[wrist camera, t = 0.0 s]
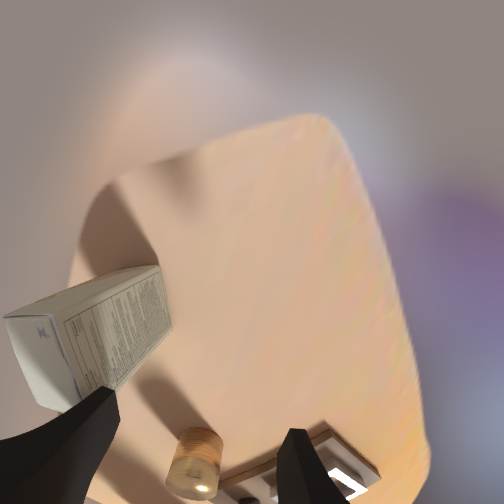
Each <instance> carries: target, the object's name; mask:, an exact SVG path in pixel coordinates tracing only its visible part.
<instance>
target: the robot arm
mask: <svg viewBox="0 0 504 504" xmlns="http://www.w3.org/2000/svg"><path fill="white" fill-rule="evenodd" d="M119 423H120V415H119V410H118V405H117V399H116V393H115V390H113V389H110V388H107V387H105V386H101V387H99V388H98V389H97V390H95V391H94V392H93V393H91V394H90V395H89V396H87V397H86V398H85V399H83V400H82V401H80V402H79V403H78V404H76V405H75V406H73V407H72V408H70V409H69V410H67V411H66V412H64V413H63V414H61V415H60V416H58V417H56V418H55V419H53V420H51V421H50V422H48V423H46V424H44V425H42V426H40V427H38V428H36V429H33V430H31V431H29V432H26V433H23V434H21V435H18V436H15V437H12V438H8V439H4V440H0V504H83V503H84V500H85V497H86V494H87V491H88V488H89V485H90V483H91V480H92V478H93V476H94V474H95V472H96V470H97V468H98V466H99V464H100V463H101V461H102V459H103V457H104V455H105V453H106V452H107V450H108V448H109V446H110V444H111V442H112V440H113V439H114V436H115V433H116V431H117V428H118V425H119ZM276 481H277V494H278V504H350V503H349V501H348V500H347V499H346V498H345V497H344V495H343V494H342V493H341V491H340V490H339V489H338V487H337V486H336V484H335V483H334V481H333V480H332V478H331V477H330V475H329V474H328V472H327V470H326V469H325V467H324V465H323V463H322V462H321V460H320V458H319V456H318V454H317V452H316V450H315V448H314V446H313V444H312V442H311V440H310V438H309V436H308V433H307V431H306V430H305V429H294V428H290V429H289V432H288V434H287V436H286V438H285V440H284V442H283V444H282V446H281V448H280V450H279V451H278V453H277V466H276Z"/></svg>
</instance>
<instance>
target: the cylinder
mask: <svg viewBox="0 0 504 504" xmlns="http://www.w3.org/2000/svg"><path fill="white" fill-rule="evenodd" d="M222 450H223V441H222V439H221V438H220V437H219V436H218V435H217V434H216V433H214V432H213V431H211V430H208V429H204V428H190V429H187V430H185V431H184V432H183V433H182V434H181V436H180V439H179V442H178V446H177V449H176V452H175V455H174V458H173V461H172V464H171V467H170V470H169V473H168V476H167V479H166V486H167V487H168V489H169V490H170V491H172V492H173V493H174V494H176V495H178V496H180V497H183V498H186V499H190V500H197V501H203V500H209V499H212V498H214V497H215V496H216V494H217V488H218V481H219V473H220V466H221V458H222Z"/></svg>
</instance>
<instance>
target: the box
mask: <svg viewBox="0 0 504 504" xmlns="http://www.w3.org/2000/svg"><path fill="white" fill-rule="evenodd" d="M3 319H4V322H5V326H6V329H7V332H8V335H9V338H10V341H11V344H12V346H13V349H14V352H15V355H16V357H17V360H18V362H19V364H20V367H21V370H22V372H23V374H24V376H25V378H26V381H27V383H28V385H29V387H30V389H31V391H32V393H33V395H34V397H35V400H36V401H37V403H38V404H39V405H41V406H44V407H47V408H50V409H52V410H55V411H58V412H61V413H64V412H66V411H67V410H69V409H70V408H72V407H73V406H75V405H76V404H78V403H79V402H80V401H82V400H83V399H85V398H86V397H87V396H89V395H90V394H91V393H93V392H94V391H95V390H97V389H98V388H99V387H101V386H105V387H107V388H110V389H113V390H115V393H116V394H117V393H118V392H119V391H120V389H121V388H122V387H123V386H124V385H125V384H126V383H127V381H128V380H129V379H130V378H131V377H132V376H133V374H134V373H135V372H136V371H137V370H138V369H139V368H140V367H141V365H142V364H143V363H144V362H145V361H146V360H147V358H148V357H149V356H150V355H151V354H152V353H153V352H154V350H155V349H156V348H157V347H158V346H159V345H160V344H161V343H162V341H163V340H164V339H165V338H166V337H167V336H168V335H169V334H170V333H171V331H172V330H173V323H172V318H171V314H170V309H169V305H168V301H167V296H166V292H165V287H164V283H163V279H162V275H161V270H160V266H159V265H148V266H140V267H132V268H126V269H120V270H115V271H112V272H109V273H107V274H104V275H102V276H99V277H96V278H94V279H91V280H89V281H86V282H84V283H81V284H79V285H76V286H74V287H71V288H69V289H66V290H64V291H61V292H58V293H56V294H54V295H51V296H49V297H46V298H44V299H41V300H39V301H36V302H34V303H32V304H29V305H27V306H25V307H22V308H20V309H18V310H16V311H13V312H11V313H8V314H6V315H4V318H3Z"/></svg>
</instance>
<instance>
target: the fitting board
mask: <svg viewBox="0 0 504 504" xmlns="http://www.w3.org/2000/svg"><path fill="white" fill-rule="evenodd" d="M311 442H312V444H313V446H314V448H315V450H316V452H317V454H318V456H319V458H320V460H321V462H322V463H323V465H324V467H325V469H326V470H327V472H328V474H329V475H330V477H331V478H332V480H333V481H334V483H335V484H336V486H337V487H338V489H339V490H340V491H341V493H342V494H343V495H344V497H345V498H346V499H347V500H349V499H351V498H353V497H355V496H357V495H359V494H361V493H363V492H365V491H367V487H369V486H370V485H372V484H374V483H376V482H377V481H379V480H381V479H382V478H381V476H380V474H379V472H378V471H377V470H375V469H374V468H373V467H372V466H371V465H369V464H368V463H367V462H366V461H365V460H364V459H362V458H361V457H360V456H359V455H358V454H357V453H355V452H354V451H353V450H352V449H351V448H350V447H349V446H348V445H346V444H345V443H344V442H343V441H342V440H341V439H340V438H339V437H338V436H337V435H335V434H334V433H333V432H332V431H331V430H330V429H328V430H327V431H325V432H323V433H322V434H320V435H318V436H317V437H315V438H313V439H312V440H311ZM276 466H277V458H276V459H274V460H271V461H269V462H267V463H265V464H263V465H261V466H258V467H256V468H254V469H251V470H249V471H247V472H244V473H242V474H239V475H237V476H234V477H232V478H229V479H227V480H224V481H221V482H218V488H217V494H216V496H215V497H214V498H212V499H209V500H208V501H210V502H212V503H214V504H278V494H277V481H276Z"/></svg>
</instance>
